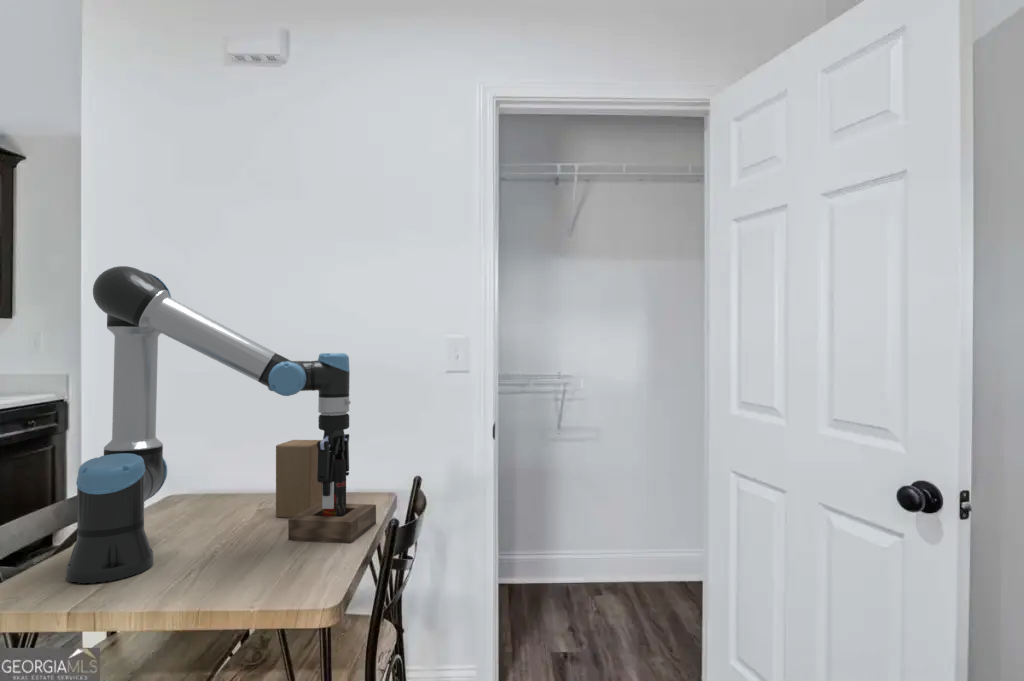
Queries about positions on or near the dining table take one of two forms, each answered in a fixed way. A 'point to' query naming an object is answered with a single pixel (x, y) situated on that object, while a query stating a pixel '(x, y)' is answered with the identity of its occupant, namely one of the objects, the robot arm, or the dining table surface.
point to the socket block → (332, 524)
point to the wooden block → (297, 477)
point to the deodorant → (338, 490)
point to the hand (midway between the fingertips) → (333, 504)
